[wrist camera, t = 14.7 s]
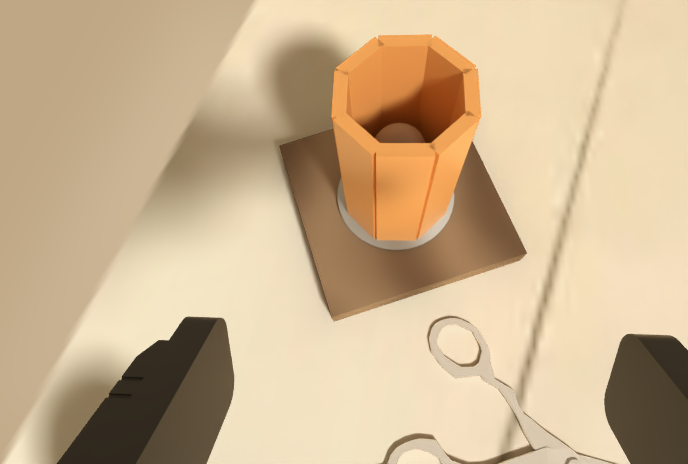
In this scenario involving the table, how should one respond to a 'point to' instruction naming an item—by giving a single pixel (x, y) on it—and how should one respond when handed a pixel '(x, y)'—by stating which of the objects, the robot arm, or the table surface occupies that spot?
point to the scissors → (549, 453)
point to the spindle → (389, 255)
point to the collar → (411, 108)
